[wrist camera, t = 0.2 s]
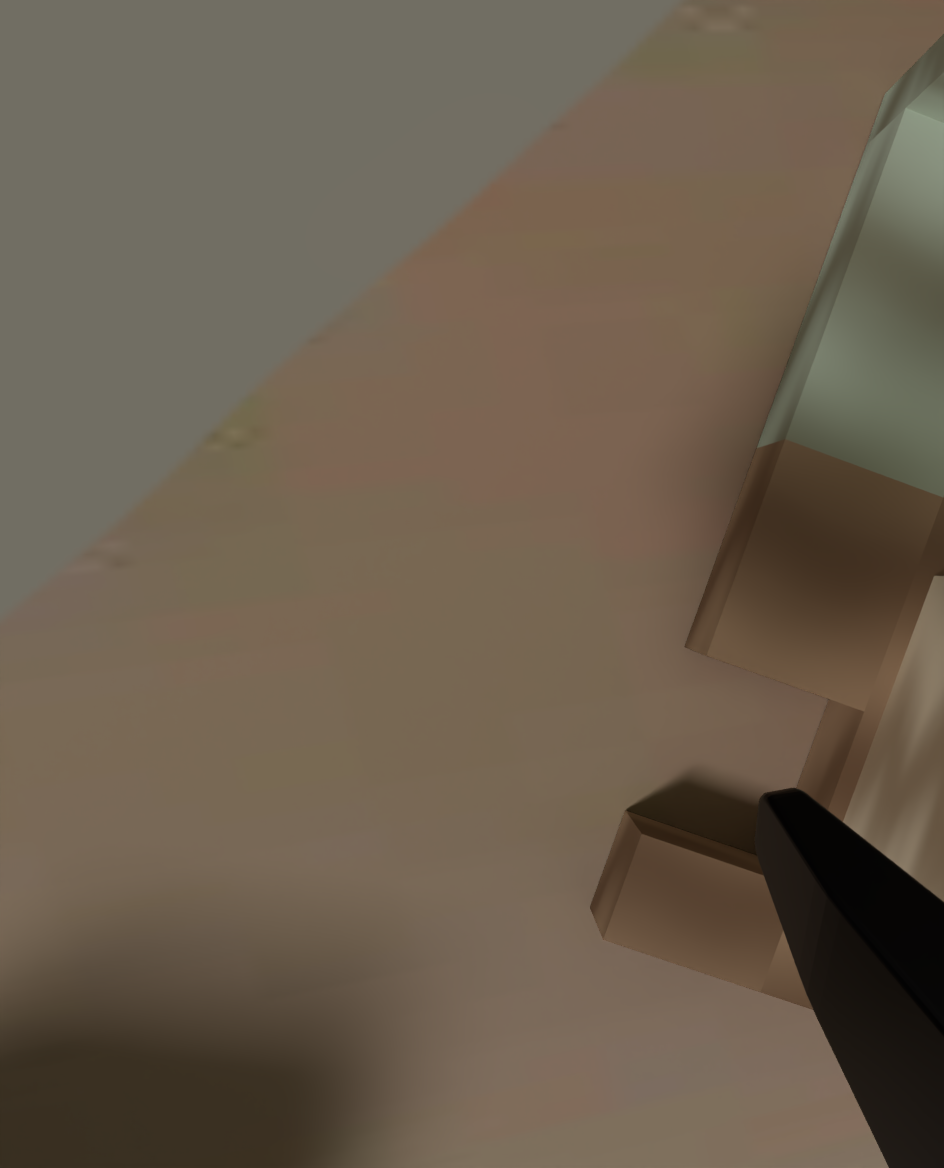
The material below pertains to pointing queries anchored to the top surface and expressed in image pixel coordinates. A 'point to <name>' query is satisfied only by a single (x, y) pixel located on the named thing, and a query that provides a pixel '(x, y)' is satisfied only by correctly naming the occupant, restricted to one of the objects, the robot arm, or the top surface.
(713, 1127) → the top surface
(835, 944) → the robot arm
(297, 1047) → the top surface
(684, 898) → the trap runway
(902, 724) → the beech block
